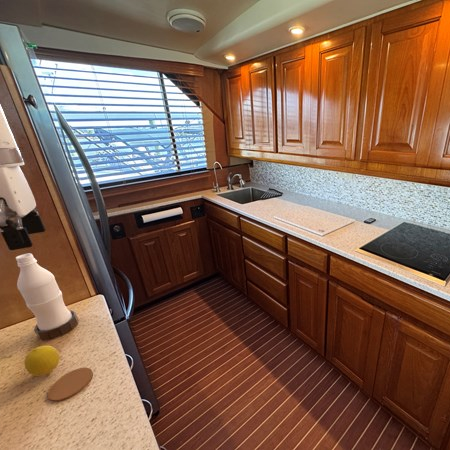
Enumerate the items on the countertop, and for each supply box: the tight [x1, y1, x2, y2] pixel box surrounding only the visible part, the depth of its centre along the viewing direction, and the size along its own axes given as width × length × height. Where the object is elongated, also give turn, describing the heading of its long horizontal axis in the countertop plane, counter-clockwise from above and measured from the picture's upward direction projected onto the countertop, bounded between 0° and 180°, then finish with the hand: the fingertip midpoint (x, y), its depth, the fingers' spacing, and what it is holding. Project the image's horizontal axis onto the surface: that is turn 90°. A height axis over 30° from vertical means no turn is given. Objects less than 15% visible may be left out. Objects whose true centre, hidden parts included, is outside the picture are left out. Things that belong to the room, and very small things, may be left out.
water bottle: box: [15, 252, 72, 331], centre depth 68 cm, size 7×7×25 cm
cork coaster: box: [47, 367, 94, 403], centre depth 56 cm, size 8×8×1 cm
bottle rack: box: [33, 310, 80, 341], centre depth 72 cm, size 9×9×3 cm
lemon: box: [24, 345, 60, 377], centre depth 57 cm, size 6×6×8 cm
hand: (29, 239), depth 52 cm, fingers open, 9 cm apart
